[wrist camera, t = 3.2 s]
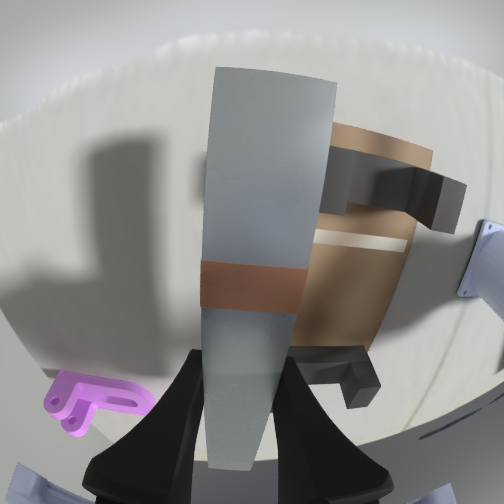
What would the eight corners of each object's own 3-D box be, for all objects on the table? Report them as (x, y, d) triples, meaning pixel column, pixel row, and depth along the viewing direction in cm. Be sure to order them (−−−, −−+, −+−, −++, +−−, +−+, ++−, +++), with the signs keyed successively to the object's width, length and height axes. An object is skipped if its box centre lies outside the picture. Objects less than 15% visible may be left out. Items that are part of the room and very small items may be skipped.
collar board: (428, 149, 16) (479, 163, 11) (353, 371, 25) (368, 414, 20) (282, 114, 15) (298, 107, 10) (247, 372, 25) (247, 420, 19)
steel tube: (312, 95, 8) (338, 82, 6) (250, 437, 18) (250, 470, 15) (225, 85, 8) (214, 66, 5) (211, 435, 17) (207, 468, 15)
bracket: (79, 395, 28) (62, 433, 22) (60, 369, 26) (39, 408, 20) (161, 408, 28) (150, 455, 22) (146, 382, 26) (131, 434, 20)
